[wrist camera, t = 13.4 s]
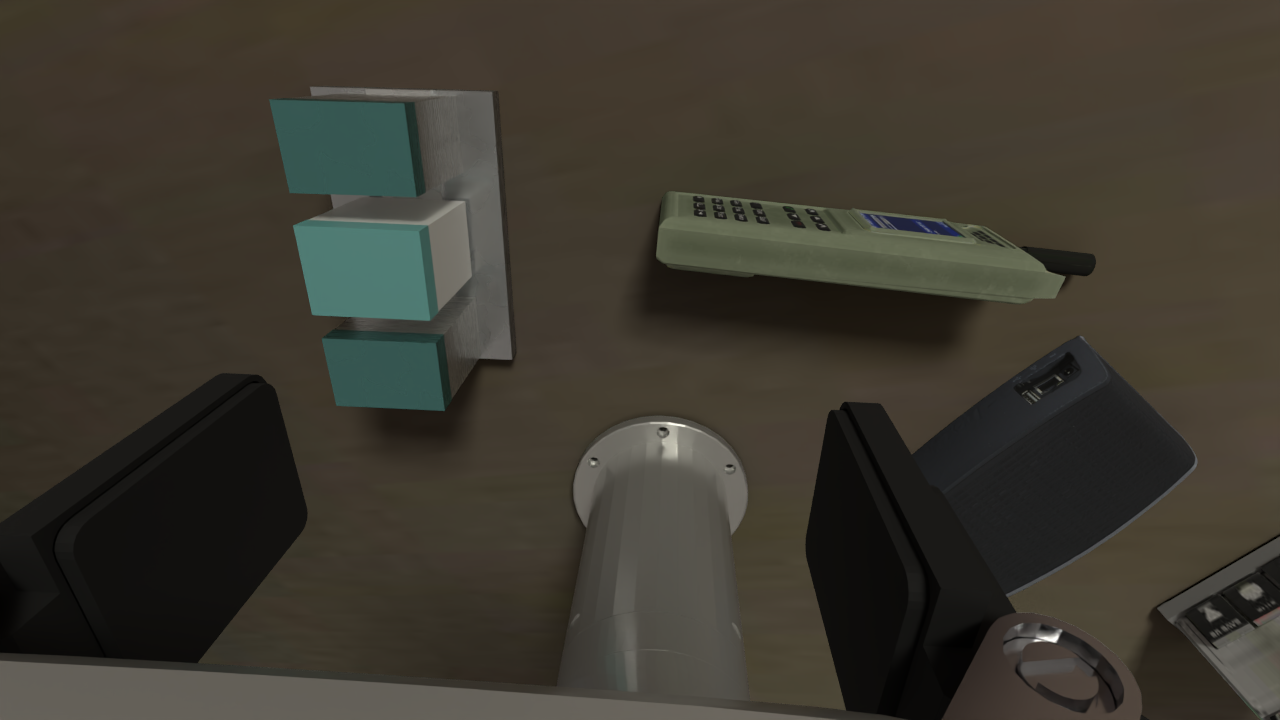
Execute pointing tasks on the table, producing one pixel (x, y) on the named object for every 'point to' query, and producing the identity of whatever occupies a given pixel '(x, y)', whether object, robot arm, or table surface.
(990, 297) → the handheld radio
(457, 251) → the block
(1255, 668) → the grey printed box
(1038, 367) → the external hard drive
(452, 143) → the rail plate
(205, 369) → the table surface
